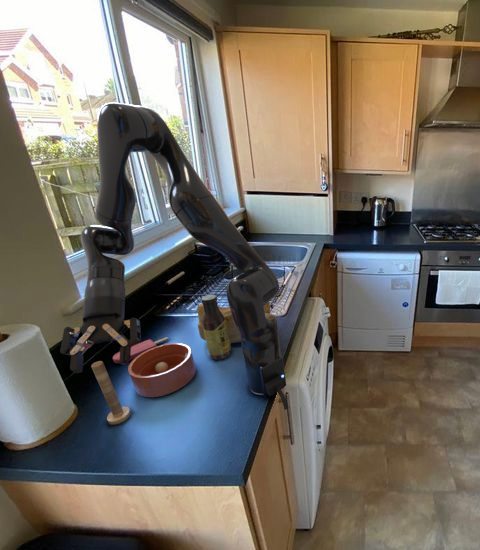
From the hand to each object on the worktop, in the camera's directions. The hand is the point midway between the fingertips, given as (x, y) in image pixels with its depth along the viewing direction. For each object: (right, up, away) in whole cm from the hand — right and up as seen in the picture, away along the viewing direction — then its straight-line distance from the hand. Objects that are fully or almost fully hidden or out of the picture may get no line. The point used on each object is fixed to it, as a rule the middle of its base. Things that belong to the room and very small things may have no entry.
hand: (101, 368), depth 68 cm
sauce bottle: (+14, -4, +27) cm, 31 cm away
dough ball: (+1, -5, +18) cm, 19 cm away
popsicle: (-12, -3, +29) cm, 31 cm away
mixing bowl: (+4, -8, +17) cm, 19 cm away
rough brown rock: (+17, 0, +38) cm, 41 cm away
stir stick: (0, -13, +5) cm, 14 cm away
